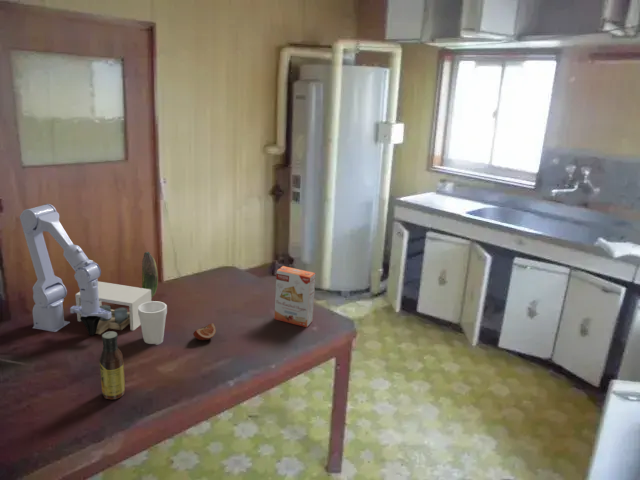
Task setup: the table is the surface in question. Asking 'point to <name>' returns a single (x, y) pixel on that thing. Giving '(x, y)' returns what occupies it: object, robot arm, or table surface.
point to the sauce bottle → (111, 367)
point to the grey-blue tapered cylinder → (120, 315)
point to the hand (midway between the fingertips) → (92, 334)
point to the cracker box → (294, 296)
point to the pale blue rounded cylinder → (107, 308)
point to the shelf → (121, 299)
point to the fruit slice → (205, 332)
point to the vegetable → (149, 273)
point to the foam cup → (152, 321)
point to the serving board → (112, 324)
